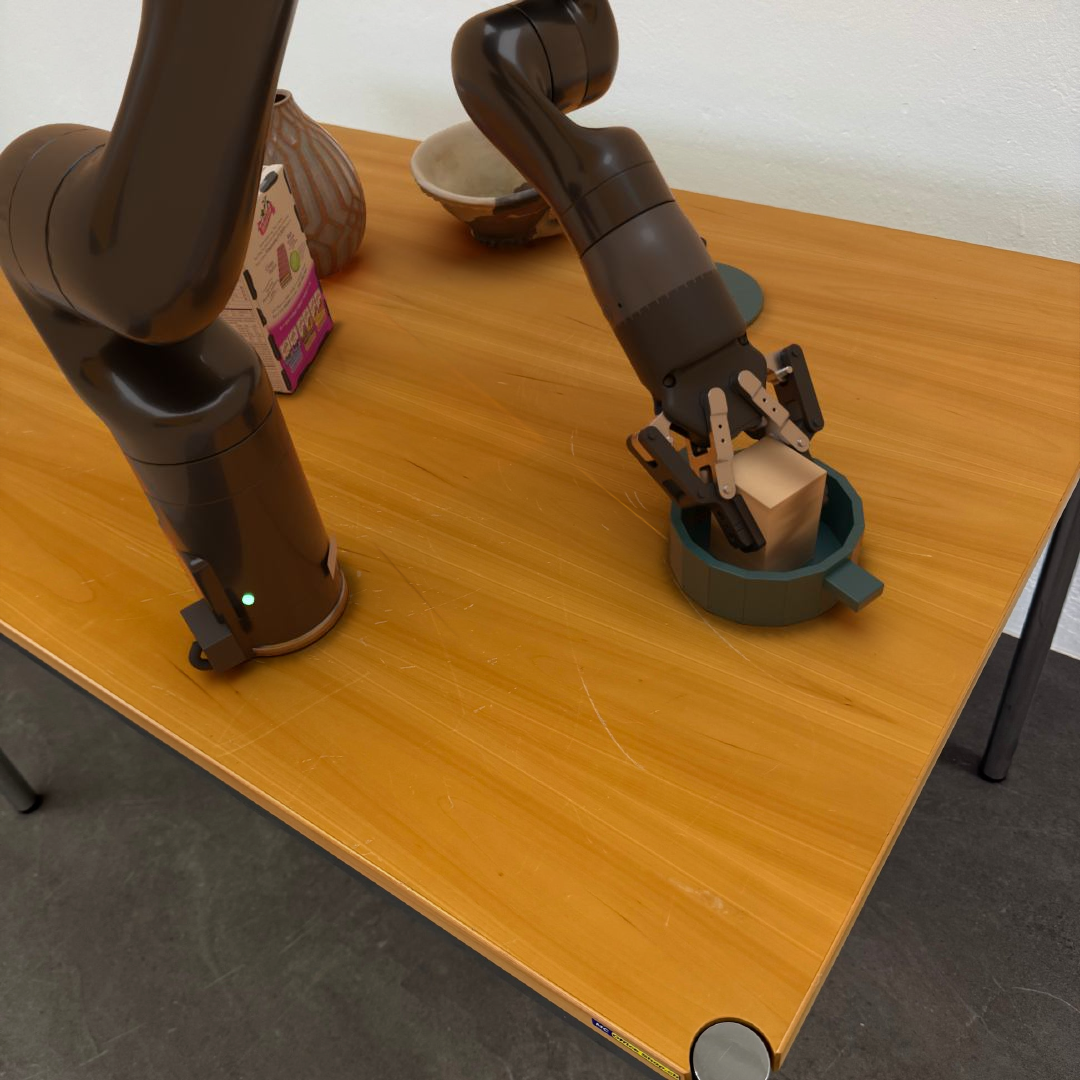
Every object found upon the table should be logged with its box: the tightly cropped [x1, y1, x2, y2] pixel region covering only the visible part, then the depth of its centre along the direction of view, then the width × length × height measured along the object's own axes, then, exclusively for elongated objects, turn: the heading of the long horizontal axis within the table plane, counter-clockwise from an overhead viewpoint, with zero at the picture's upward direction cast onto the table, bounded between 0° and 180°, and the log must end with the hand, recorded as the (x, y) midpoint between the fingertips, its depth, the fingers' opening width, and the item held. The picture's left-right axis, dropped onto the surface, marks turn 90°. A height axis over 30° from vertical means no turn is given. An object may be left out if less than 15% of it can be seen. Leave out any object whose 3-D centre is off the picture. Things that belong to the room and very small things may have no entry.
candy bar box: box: [220, 164, 335, 394], centre depth 83 cm, size 11×5×16 cm, turn 168°
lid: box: [700, 236, 764, 328], centre depth 86 cm, size 14×14×7 cm
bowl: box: [409, 119, 565, 249], centre depth 98 cm, size 18×18×10 cm
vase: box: [263, 88, 368, 281], centre depth 95 cm, size 13×13×18 cm
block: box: [710, 435, 827, 572], centre depth 63 cm, size 5×5×8 cm
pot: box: [669, 445, 885, 627], centre depth 64 cm, size 12×18×5 cm
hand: (786, 527), depth 61 cm, fingers closed on block, 5 cm apart
